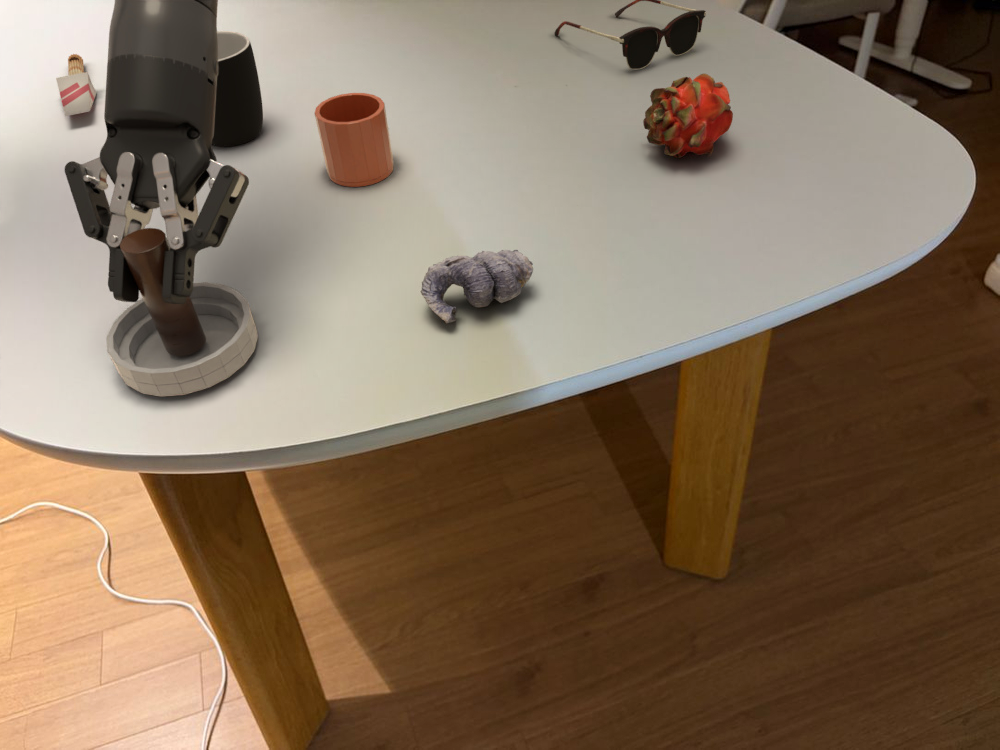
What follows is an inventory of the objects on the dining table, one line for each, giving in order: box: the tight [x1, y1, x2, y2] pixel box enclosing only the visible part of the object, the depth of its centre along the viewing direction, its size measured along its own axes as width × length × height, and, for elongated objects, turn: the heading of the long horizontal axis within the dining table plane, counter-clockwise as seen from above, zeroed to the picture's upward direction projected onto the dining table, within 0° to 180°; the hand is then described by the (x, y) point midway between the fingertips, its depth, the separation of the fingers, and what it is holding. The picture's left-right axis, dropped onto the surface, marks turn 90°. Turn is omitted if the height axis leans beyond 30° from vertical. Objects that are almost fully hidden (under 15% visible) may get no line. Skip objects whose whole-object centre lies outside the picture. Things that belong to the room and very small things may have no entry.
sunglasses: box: [554, 0, 707, 70], centre depth 106 cm, size 14×16×5 cm
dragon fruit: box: [642, 73, 734, 159], centre depth 84 cm, size 8×8×12 cm
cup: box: [314, 92, 394, 188], centre depth 83 cm, size 7×7×7 cm
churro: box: [55, 53, 98, 117], centre depth 102 cm, size 4×3×20 cm
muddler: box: [120, 227, 206, 356], centre depth 61 cm, size 3×3×10 cm
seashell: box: [420, 249, 534, 325], centre depth 67 cm, size 5×5×10 cm
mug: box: [211, 30, 264, 147], centre depth 89 cm, size 12×9×10 cm
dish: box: [106, 281, 259, 397], centre depth 64 cm, size 11×11×3 cm
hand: (150, 300), depth 59 cm, fingers closed on muddler, 3 cm apart
